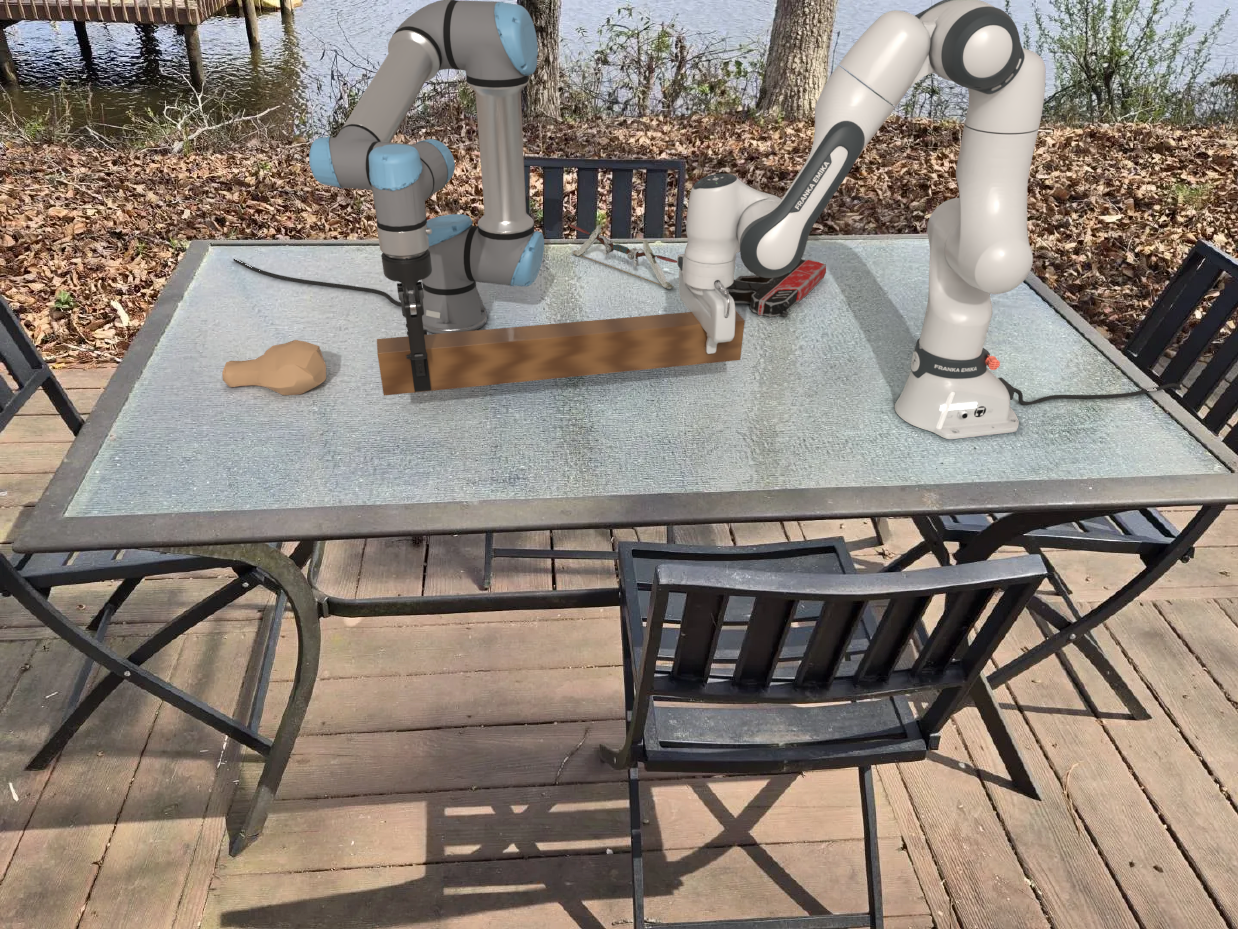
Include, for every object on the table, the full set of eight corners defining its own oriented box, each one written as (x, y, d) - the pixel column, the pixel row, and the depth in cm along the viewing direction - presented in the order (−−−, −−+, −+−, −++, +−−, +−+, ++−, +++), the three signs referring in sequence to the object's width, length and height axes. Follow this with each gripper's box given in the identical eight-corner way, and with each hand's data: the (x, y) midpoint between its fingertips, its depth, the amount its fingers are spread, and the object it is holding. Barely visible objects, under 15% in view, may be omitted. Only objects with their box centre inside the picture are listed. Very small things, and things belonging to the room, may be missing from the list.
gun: (708, 284, 207) (784, 305, 199) (760, 245, 229) (831, 262, 221) (706, 302, 209) (781, 323, 201) (758, 261, 231) (828, 278, 223)
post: (383, 395, 147) (377, 353, 142) (382, 380, 151) (376, 338, 147) (740, 360, 160) (744, 320, 156) (730, 347, 165) (734, 307, 160)
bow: (681, 290, 215) (684, 251, 209) (676, 292, 214) (679, 253, 208) (570, 250, 236) (570, 213, 230) (565, 252, 235) (565, 215, 229)
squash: (325, 401, 166) (308, 363, 160) (224, 409, 168) (204, 372, 162) (338, 366, 174) (323, 329, 168) (242, 374, 176) (223, 338, 169)
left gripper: (434, 270, 130) (448, 405, 143) (425, 229, 145) (438, 354, 158) (382, 274, 129) (401, 410, 142) (378, 232, 143) (396, 358, 157)
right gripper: (748, 292, 144) (740, 367, 152) (707, 249, 161) (702, 319, 168) (711, 295, 143) (706, 371, 151) (674, 252, 159) (670, 322, 167)
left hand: (421, 381), depth 150 cm, fingers closed on post, 5 cm apart
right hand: (703, 343), depth 160 cm, fingers closed on post, 5 cm apart
